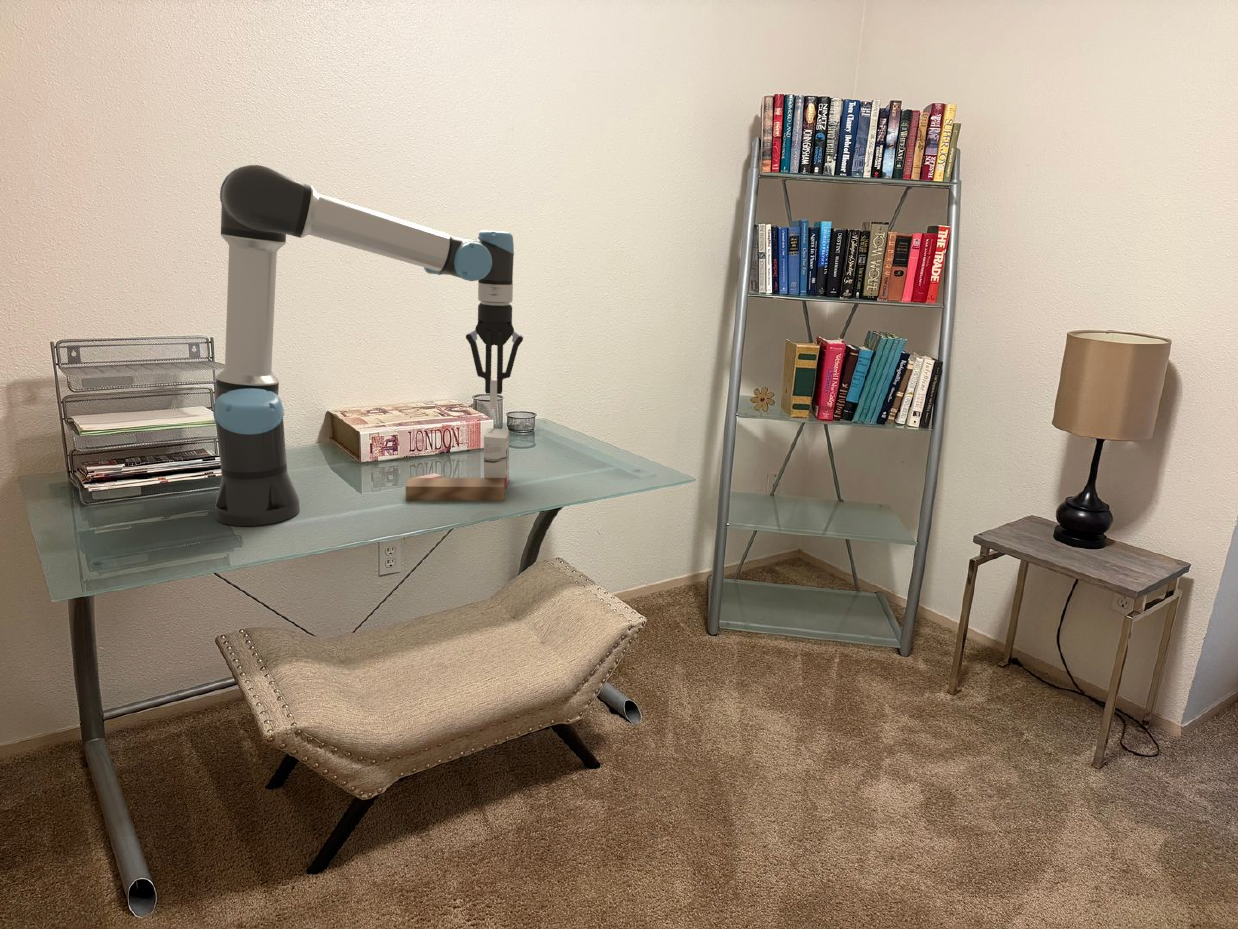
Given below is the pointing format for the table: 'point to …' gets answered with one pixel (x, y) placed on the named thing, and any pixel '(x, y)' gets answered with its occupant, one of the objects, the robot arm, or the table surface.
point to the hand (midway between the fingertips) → (493, 407)
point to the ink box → (496, 454)
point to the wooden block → (455, 489)
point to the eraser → (430, 476)
